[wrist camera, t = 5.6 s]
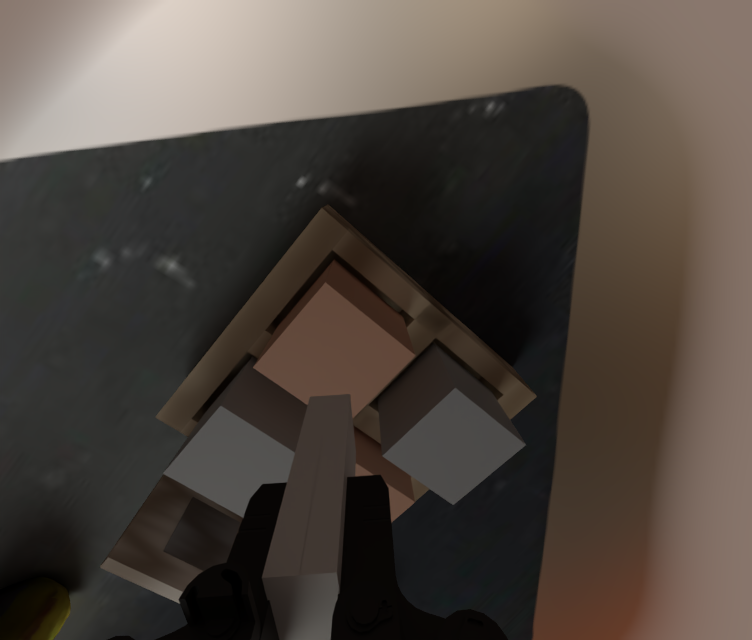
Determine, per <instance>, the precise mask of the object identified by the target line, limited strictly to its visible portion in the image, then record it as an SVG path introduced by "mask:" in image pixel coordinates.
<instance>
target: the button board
mask: <svg viewBox="0 0 752 640" xmlns="http://www.w3.org/2000/svg"><path fill="white" fill-rule="evenodd" d="M334 259H335V260H336V261H337V262H338V263H340V264H341V265H342V266H343V267H344V268H346V269H347V270H348V271H349V272H350V273H351V274H353V275H354V276H355V277H356V278H357V279H359V280H360V281H361V282H362V283H363V284H365V285H366V286H367V287H368V288H369V289H371V290H372V291H373V292H374V293H375V294H377V295H378V296H379V297H380V298H381V299H382V300H384V301H385V302H386V303H387V304H388V305H390V306H391V307H392V308H393V309H394V310H396V311H397V312H398V313H399V314H400V315H402V316H403V318H404V322H405V325H406V328H407V331H408V334H409V337H410V340H411V343H412V346H413V349H414V352H415V355H416V356H415V357H414V358H413V359H412V360H411V361H410V362H409V363H408V364H407V365H406V366H405V367H404V368H403V369H402V370H401V371H400V372H399V373H398V374H397V375H396V376H395V377H394V378H393V379H392V380H391V381H390V382H389V383H388V384H387V385H386V386H385V387H384V388H383V389H382V390H381V391H380V392H379V393H378V394H377V395H376V396H375V397H374V398H373V399H372V400H371V401H370V402H369V403H368V404H367V405H366V406H365V407H364V408H363V409H362V410H361V411H360V412H359V413H358V414H357V415H356V416H355V417H354V418H353V425H354V426H355V427H357V428H358V429H360V430H361V431H363V432H364V433H366V434H367V435H368V436H370V437H371V438H373V439H374V440H376V441H377V442H378V443H380V444H381V436H380V424H379V411H378V398H379V397H380V396H381V395H382V394H383V393H384V392H385V391H386V390H387V389H388V388H389V387H390V386H391V385H392V384H393V383H394V382H395V381H396V380H397V379H398V378H399V377H400V376H401V375H402V374H403V373H404V372H405V371H406V370H407V369H408V368H409V367H410V366H411V365H412V364H413V363H414V362H415V361H416V360H417V359H418V358H419V357H420V356H421V355H422V354H423V353H424V352H425V351H426V350H427V349H428V348H429V347H430V346H431V345H432V344H433V343H435V344H436V345H437V346H439V347H440V348H441V349H442V350H443V351H444V352H446V353H447V354H448V355H449V356H450V357H452V358H453V359H454V360H455V361H456V362H458V363H459V364H460V365H461V366H462V367H464V368H465V369H466V370H467V371H468V372H470V373H471V374H472V375H473V376H474V377H475V378H477V379H478V380H479V381H480V382H481V383H483V384H484V385H485V386H486V387H487V388H489V389H490V390H491V391H492V393H493V394H494V396H495V398H496V399H497V401H498V402H499V404H500V405H501V407H502V408H503V410H504V412H505V413H506V415H507V416H508V418H509V419H511V418H512V417H514V416H515V415H516V414H517V413H518V412H519V411H521V410H522V409H523V408H524V407H525V406H526V405H528V404H529V403H530V402H531V401H532V400H533V399H535V398H536V397H537V396H536V395H535V393H534V392H533V391H532V390H531V389H530V388H529V386H528V385H527V384H526V383H525V382H524V380H523V379H522V378H521V377H520V376H519V375H518V373H517V372H516V371H515V370H514V369H513V367H511V366H510V365H509V364H508V363H507V362H506V361H505V360H504V359H502V358H501V357H500V356H499V355H498V354H497V353H496V352H495V351H493V350H492V349H491V348H490V347H489V346H488V345H487V344H485V343H484V342H483V341H482V340H481V339H480V338H479V337H478V336H476V335H475V334H474V333H473V332H472V331H471V330H470V329H469V328H467V327H466V326H465V325H464V324H463V323H462V322H461V321H459V320H458V319H457V318H456V317H455V316H454V315H453V314H452V313H450V312H449V311H448V310H447V309H446V308H445V307H444V306H443V305H441V304H440V303H439V302H438V301H437V300H436V299H435V298H433V297H432V296H431V295H430V294H429V293H428V292H427V291H426V290H424V289H423V288H422V287H421V286H420V285H419V284H418V283H417V282H415V281H414V280H413V279H412V278H411V277H410V276H409V275H407V274H406V273H405V272H404V271H403V270H402V269H401V268H400V267H398V266H397V265H396V264H395V263H394V262H393V261H392V260H391V259H389V258H388V257H387V256H386V255H385V254H384V253H383V252H381V251H380V250H379V249H378V248H377V247H376V246H375V245H374V244H372V243H371V242H370V241H369V240H368V239H367V238H366V237H365V236H363V235H362V234H361V233H360V232H359V231H358V230H357V229H355V228H354V227H353V226H352V225H351V224H350V223H349V222H348V221H346V220H345V219H344V218H343V217H342V216H341V215H340V214H339V213H337V212H336V211H335V210H334V209H333V208H332V207H331V206H329V205H326V206H324V207H322V208H321V209H320V211H319V212H318V213H317V214H316V216H315V217H314V218H313V219H312V221H311V222H310V223H309V224H308V226H307V227H306V228H305V229H304V231H303V232H302V233H301V234H300V236H299V237H298V238H297V239H296V241H295V242H294V243H293V245H292V246H291V247H290V248H289V250H288V251H287V252H286V253H285V255H284V256H283V257H282V258H281V260H280V261H279V262H278V263H277V265H276V266H275V267H274V268H273V270H272V271H271V272H270V273H269V275H268V276H267V277H266V279H265V280H264V281H263V282H262V284H261V285H260V286H259V287H258V289H257V290H256V291H255V292H254V294H253V295H252V296H251V297H250V299H249V300H248V301H247V302H246V304H245V305H244V306H243V307H242V309H241V310H240V311H239V313H238V314H237V315H236V316H235V318H234V319H233V320H232V321H231V323H230V324H229V325H228V326H227V328H226V329H225V330H224V331H223V333H222V334H221V335H220V336H219V338H218V339H217V340H216V341H215V343H214V344H213V345H212V347H211V348H210V349H209V350H208V352H207V353H206V354H205V355H204V357H203V358H202V359H201V360H200V362H199V363H198V364H197V365H196V367H195V368H194V369H193V370H192V372H191V373H190V374H189V375H188V377H187V378H186V379H185V381H184V382H183V383H182V384H181V386H180V387H179V388H178V389H177V391H176V392H175V393H174V394H173V396H172V397H171V398H170V399H169V401H168V402H167V403H166V404H165V406H164V407H163V408H162V409H161V411H160V412H159V413H158V415H157V416H156V418H157V419H159V420H161V421H162V422H164V423H166V424H167V425H169V426H171V427H173V428H174V429H176V430H178V431H179V432H181V433H183V434H184V435H186V436H189V435H190V434H191V432H192V431H193V429H194V428H195V426H196V425H197V423H198V422H199V421H200V419H201V418H202V416H203V415H204V413H205V412H206V411H207V410H208V408H209V407H210V406H211V405H212V404H213V402H214V401H215V400H216V399H217V398H218V397H219V395H220V394H221V393H222V392H223V391H224V389H225V388H226V387H227V386H228V385H229V383H230V382H231V381H232V380H233V379H234V378H235V376H236V375H237V374H238V373H239V372H240V370H241V369H242V368H243V367H244V366H245V364H246V363H247V362H248V361H249V360H250V358H251V357H252V356H253V357H254V358H256V359H257V360H258V358H259V357H260V355H261V353H262V352H263V350H264V348H265V347H266V345H267V343H268V342H269V340H270V338H271V337H272V335H273V333H274V332H275V330H276V328H277V327H278V325H279V324H280V323H281V322H282V320H283V319H284V318H285V317H286V316H287V314H288V313H289V312H290V311H291V310H292V309H293V307H294V306H295V305H296V304H297V303H298V301H299V300H300V299H301V298H302V297H303V295H304V294H305V293H306V292H307V291H308V290H309V288H310V287H311V286H312V285H313V284H314V282H315V281H316V280H317V279H318V278H319V276H320V275H321V274H322V273H323V272H324V270H325V269H326V268H327V267H328V266H329V265H330V263H331V262H332V261H333V260H334ZM411 482H412V487H413V493H414V499H415V501H416V500H417V499H418V498H420V497H421V496H422V495H423V494H424V493H425V492H427V491H428V490H429V488H428V487H426V486H425V485H423V484H422V483H421V482H419V481H418V480H416V479H415V478H413V477H412V476H411ZM242 519H244V518H243V517H241V516H239V515H237V514H235V513H234V512H232V511H230V510H228V509H226V508H225V507H223V506H221V505H219V504H217V503H216V502H214V501H212V500H210V499H208V498H206V497H205V496H203V495H201V494H199V493H197V492H196V491H194V490H192V489H190V488H188V487H186V486H185V485H183V484H181V483H179V482H177V481H176V480H174V479H172V478H170V477H168V476H166V475H165V474H163V476H162V477H161V479H160V480H159V482H158V483H157V485H156V486H155V487H154V489H153V490H152V492H151V493H150V495H149V496H148V498H147V499H146V501H145V502H144V503H143V505H142V506H141V508H140V509H139V511H138V512H137V514H136V515H135V517H134V518H133V519H132V521H131V522H130V524H129V525H128V527H127V528H126V530H125V531H124V532H123V534H122V535H121V537H120V538H119V540H118V541H117V543H116V544H115V546H114V547H113V548H112V550H111V551H110V553H109V554H108V556H107V557H106V559H105V560H104V562H103V563H102V564H101V566H100V568H102V569H104V570H107V571H109V572H111V573H113V574H115V575H118V576H120V577H122V578H124V579H127V580H129V581H131V582H133V583H135V584H138V585H140V586H142V587H144V588H146V589H149V590H151V591H153V592H155V593H158V594H160V595H162V596H164V597H166V598H169V599H171V600H173V601H175V602H177V603H180V602H179V600H178V599H179V598H180V596H181V594H182V593H183V591H184V590H185V588H186V586H187V585H188V584H189V583H190V582H191V581H192V580H193V579H194V578H195V577H196V576H197V575H198V574H200V573H201V572H203V571H205V570H206V569H208V568H210V567H212V566H214V565H218V564H222V563H226V562H227V559H228V557H229V554H230V551H231V548H232V546H233V543H234V540H235V538H236V535H237V533H238V531H239V527H240V524H241V522H242Z"/></svg>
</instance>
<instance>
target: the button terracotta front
mask: <svg viewBox="0 0 752 640" xmlns="http://www.w3.org/2000/svg"><path fill="white" fill-rule="evenodd" d="M415 356H416V355H415V352H414V349H413V346H412V343H411V340H410V337H409V334H408V331H407V328H406V325H405V322H404V318H403V316H402V315H400V314H399V313H398V312H397V311H396V310H394V309H393V308H392V307H391V306H390V305H388V304H387V303H386V302H385V301H384V300H382V299H381V298H380V297H379V296H378V295H377V294H375V293H374V292H373V291H372V290H371V289H369V288H368V287H367V286H366V285H365V284H363V283H362V282H361V281H360V280H359V279H357V278H356V277H355V276H354V275H353V274H351V273H350V272H349V271H348V270H347V269H346V268H344V267H343V266H342V265H341V264H340V263H338V262H337V261H336V260H335V259H334V260H333V261H332V262H331V263H330V265H329V266H328V267H327V268H326V269H325V270H324V272H323V273H322V274H321V275H320V276H319V278H318V279H317V280H316V281H315V282H314V284H313V285H312V286H311V287H310V288H309V290H308V291H307V292H306V293H305V294H304V295H303V297H302V298H301V299H300V300H299V301H298V303H297V304H296V305H295V306H294V307H293V309H292V310H291V311H290V312H289V313H288V314H287V316H286V317H285V318H284V319H283V320H282V322H281V323H280V324H279V325H278V327H277V328H276V330H275V332H274V333H273V335H272V337H271V338H270V340H269V342H268V343H267V345H266V347H265V348H264V350H263V352H262V353H261V355H260V357H259V358H258V360H257V362H256V363H255V365H254V367H253V368H254V369H256V370H257V371H259V372H260V373H261V374H263V375H264V376H266V377H267V378H269V379H270V380H272V381H273V382H275V383H276V384H278V385H279V386H280V387H282V388H283V389H285V390H286V391H288V392H289V393H291V394H292V395H294V396H295V397H296V398H298V399H299V400H301V401H302V402H304V403H305V404H307V405H308V402H309V398H310V397H313V396H327V395H342V394H350V398H351V408H352V418H354V417H355V416H356V415H357V414H358V413H359V412H360V411H361V410H362V409H363V408H364V407H365V406H366V405H367V404H368V403H369V402H370V401H371V400H372V399H373V398H374V397H375V396H376V395H377V394H378V393H379V392H380V391H381V390H382V389H383V388H384V387H385V386H386V385H387V384H388V383H389V382H390V381H391V380H392V379H393V378H394V377H395V376H396V375H397V374H398V373H399V372H400V371H401V370H402V369H403V368H404V367H405V366H406V365H407V364H408V363H409V362H410V361H411V360H412V359H413V358H414V357H415Z"/></svg>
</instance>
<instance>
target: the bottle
mask: <svg viewBox="0 0 752 640" xmlns="http://www.w3.org/2000/svg"><path fill="white" fill-rule="evenodd" d="M70 609H71V607H70V599H69V594H68V591H67V589H66V588H65V587H64V586H62V585H61V584H59V583H57V582H56V581H54V580H52V579H50V578H47V577H35V578H31V579H28V580H25V581H22V582H19V583H16V584H14V585H11V586H8V587H6V588H3V589H1V590H0V640H53V639H54V638H55V636H56V635H57V634H58V632H59V631H60V629H61V628H62V626H63V624H64V622H65V620H66V619H67V617H68V616H69V615H70Z"/></svg>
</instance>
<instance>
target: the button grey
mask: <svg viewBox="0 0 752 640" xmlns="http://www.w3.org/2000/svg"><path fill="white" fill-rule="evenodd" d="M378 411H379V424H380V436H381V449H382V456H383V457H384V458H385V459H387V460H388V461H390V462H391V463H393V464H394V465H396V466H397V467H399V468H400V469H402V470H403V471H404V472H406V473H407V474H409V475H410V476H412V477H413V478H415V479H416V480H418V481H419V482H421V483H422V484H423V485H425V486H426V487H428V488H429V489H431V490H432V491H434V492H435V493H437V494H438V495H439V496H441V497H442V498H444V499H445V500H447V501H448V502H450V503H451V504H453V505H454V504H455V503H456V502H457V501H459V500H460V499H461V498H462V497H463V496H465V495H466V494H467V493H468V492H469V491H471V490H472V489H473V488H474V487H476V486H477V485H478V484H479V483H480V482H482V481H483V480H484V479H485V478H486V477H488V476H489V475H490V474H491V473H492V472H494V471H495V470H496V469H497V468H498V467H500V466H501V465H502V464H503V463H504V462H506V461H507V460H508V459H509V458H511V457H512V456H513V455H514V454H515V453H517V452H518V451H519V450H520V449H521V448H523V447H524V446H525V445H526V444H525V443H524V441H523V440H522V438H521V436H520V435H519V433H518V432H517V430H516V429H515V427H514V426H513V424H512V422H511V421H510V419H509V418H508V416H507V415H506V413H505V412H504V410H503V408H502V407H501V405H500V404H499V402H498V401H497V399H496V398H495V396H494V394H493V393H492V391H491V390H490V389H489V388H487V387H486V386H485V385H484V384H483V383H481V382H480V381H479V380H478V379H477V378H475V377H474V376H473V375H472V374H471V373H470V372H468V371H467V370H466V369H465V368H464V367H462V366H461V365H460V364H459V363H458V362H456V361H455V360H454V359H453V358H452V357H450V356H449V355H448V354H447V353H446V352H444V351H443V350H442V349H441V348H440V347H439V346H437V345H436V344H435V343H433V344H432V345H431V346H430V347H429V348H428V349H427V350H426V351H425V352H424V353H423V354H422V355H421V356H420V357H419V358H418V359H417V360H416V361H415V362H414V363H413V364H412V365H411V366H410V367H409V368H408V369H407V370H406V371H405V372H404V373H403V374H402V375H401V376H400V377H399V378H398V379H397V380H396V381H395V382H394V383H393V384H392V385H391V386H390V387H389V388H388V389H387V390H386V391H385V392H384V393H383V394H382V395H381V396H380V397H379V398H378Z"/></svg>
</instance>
